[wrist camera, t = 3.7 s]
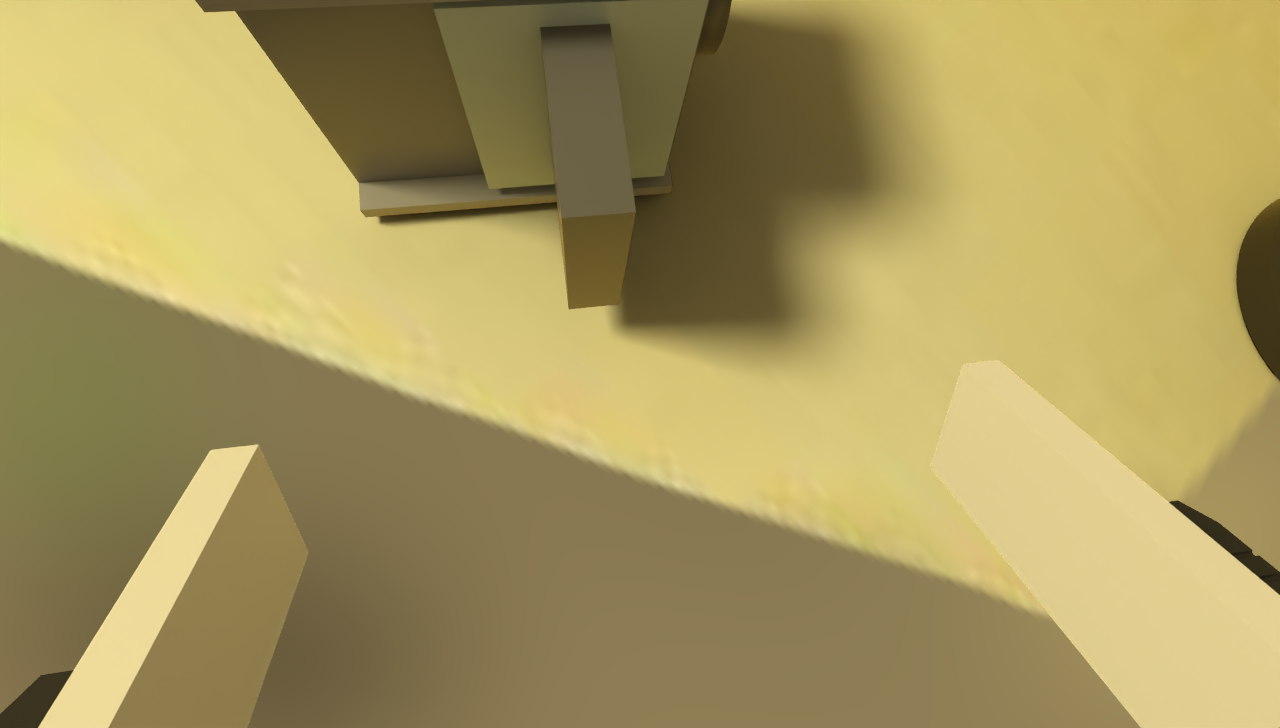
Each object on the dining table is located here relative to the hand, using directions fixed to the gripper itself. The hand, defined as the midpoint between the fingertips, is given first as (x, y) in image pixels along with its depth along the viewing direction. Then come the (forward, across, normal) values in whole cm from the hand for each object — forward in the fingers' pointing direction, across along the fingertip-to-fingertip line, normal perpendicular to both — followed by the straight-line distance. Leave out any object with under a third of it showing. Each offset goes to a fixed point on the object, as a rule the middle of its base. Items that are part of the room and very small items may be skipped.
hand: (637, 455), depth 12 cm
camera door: (+21, +1, -4) cm, 21 cm away
